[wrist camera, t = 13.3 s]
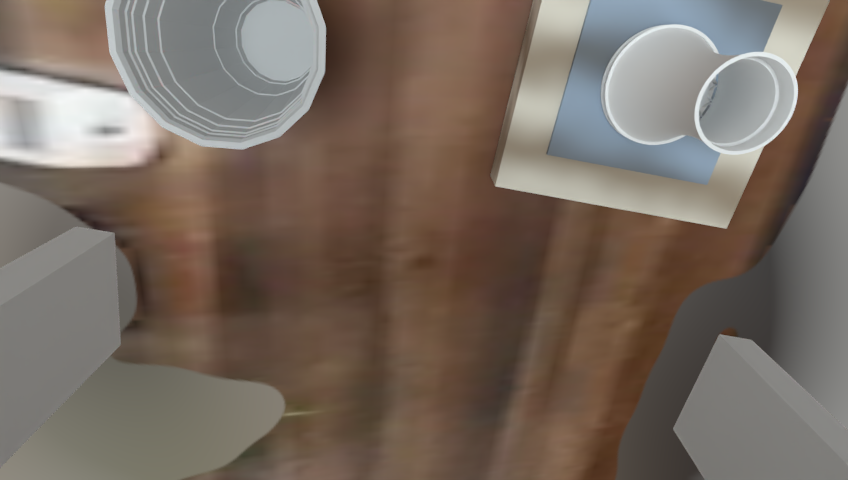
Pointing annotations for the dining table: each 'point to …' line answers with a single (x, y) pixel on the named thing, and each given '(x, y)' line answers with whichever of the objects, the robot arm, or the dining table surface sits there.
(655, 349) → the dining table surface
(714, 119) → the white flared tube
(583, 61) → the plinth
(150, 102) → the plastic cup
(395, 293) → the dining table surface
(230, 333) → the dining table surface
